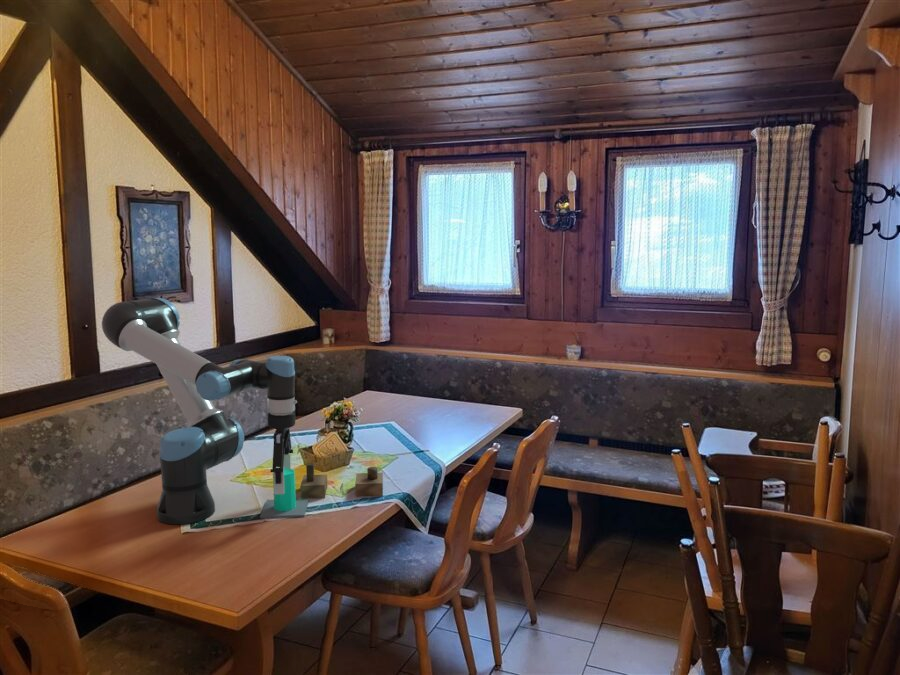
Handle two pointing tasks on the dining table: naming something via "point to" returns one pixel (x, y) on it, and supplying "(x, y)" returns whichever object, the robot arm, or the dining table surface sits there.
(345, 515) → the dining table surface
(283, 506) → the candle
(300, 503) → the coaster
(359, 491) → the wooden peg blocks
